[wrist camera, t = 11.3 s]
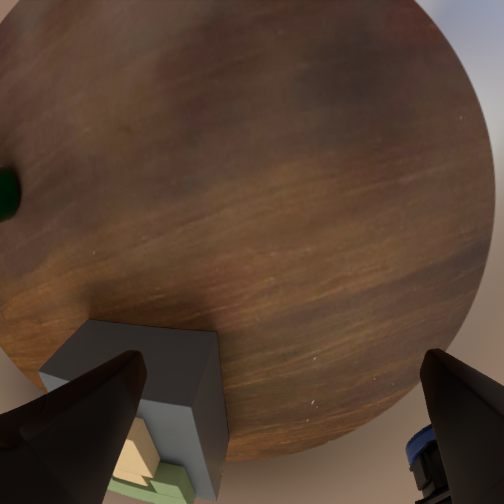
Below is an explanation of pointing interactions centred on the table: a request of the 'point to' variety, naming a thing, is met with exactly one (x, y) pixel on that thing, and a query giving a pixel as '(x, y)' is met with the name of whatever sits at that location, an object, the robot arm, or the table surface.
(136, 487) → the green pad
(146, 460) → the cream pad
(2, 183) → the soda can
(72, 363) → the block
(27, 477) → the robot arm
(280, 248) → the table surface
